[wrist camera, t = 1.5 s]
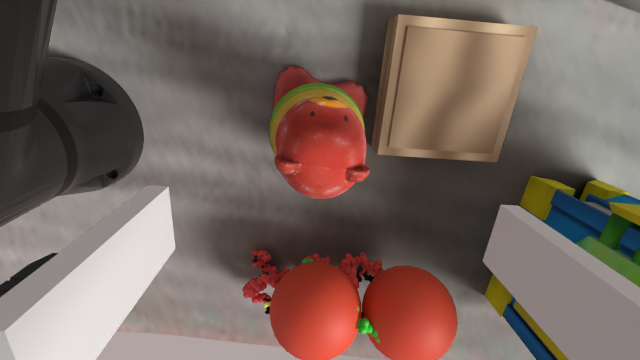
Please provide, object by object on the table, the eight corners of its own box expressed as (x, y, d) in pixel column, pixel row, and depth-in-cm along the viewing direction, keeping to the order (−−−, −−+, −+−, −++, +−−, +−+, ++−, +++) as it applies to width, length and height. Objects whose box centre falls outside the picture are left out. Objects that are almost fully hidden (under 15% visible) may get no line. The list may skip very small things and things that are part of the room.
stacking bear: (371, 86, 35) (429, 107, 19) (347, 166, 39) (377, 244, 22) (280, 61, 34) (254, 59, 17) (263, 146, 37) (228, 214, 21)
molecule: (425, 223, 42) (487, 306, 28) (417, 286, 46) (466, 387, 32) (244, 227, 41) (211, 315, 27) (251, 291, 45) (225, 397, 31)
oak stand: (370, 145, 38) (378, 155, 34) (388, 19, 33) (399, 13, 29) (478, 152, 39) (498, 163, 35) (512, 31, 34) (539, 26, 30)
